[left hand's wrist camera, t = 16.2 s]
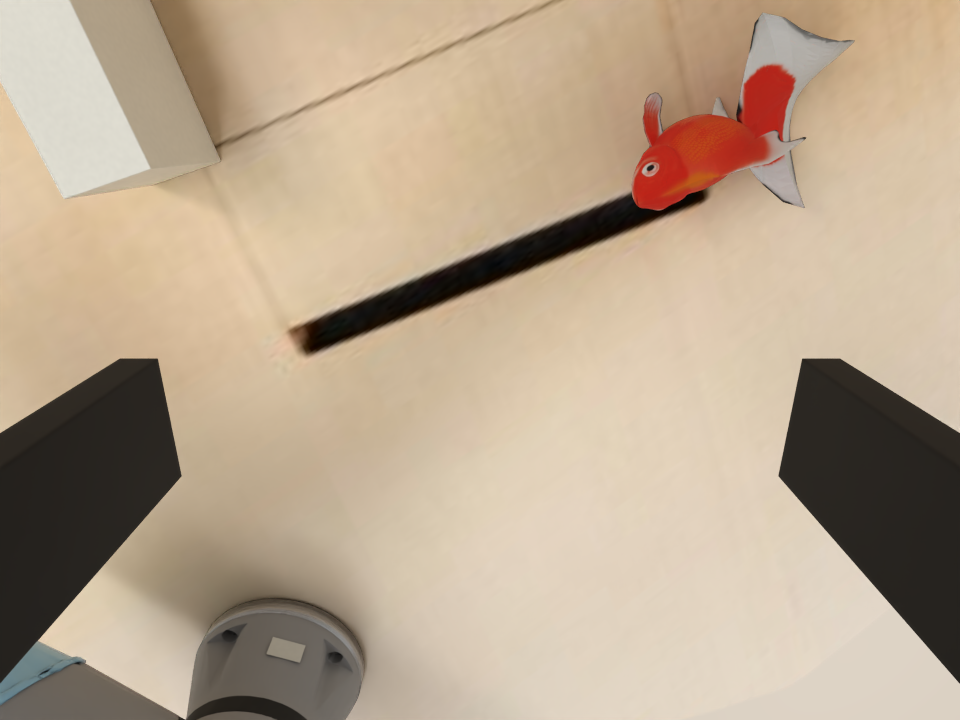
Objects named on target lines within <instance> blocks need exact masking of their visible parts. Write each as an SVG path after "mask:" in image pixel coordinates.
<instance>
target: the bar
mask: <svg viewBox="0 0 960 720" xmlns="http://www.w3.org/2000/svg"><path fill="white" fill-rule="evenodd" d="M0 82H1V84H2V86H3V88H4V89H5V91H6V93H7V95H8V97H9V99H10V101H11V102H12V104H13V106H14V108H15V110H16V112H17V113H18V115H19V117H20V119H21V121H22V123H23V125H24V126H25V128H26V130H27V132H28V134H29V136H30V137H31V139H32V141H33V143H34V145H35V147H36V149H37V150H38V152H39V154H40V156H41V158H42V160H43V162H44V163H45V165H46V167H47V169H48V171H49V173H50V174H51V176H52V178H53V180H54V182H55V184H56V186H57V187H58V189H59V191H60V193H61V195H62V197H63V198H64V199H69V198H75V197H81V196H88V195H94V194H100V193H107V192H113V191H119V190H126V189H132V188H138V187H145V186H151V185H154V184H157V183H160V182H163V181H166V180H169V179H172V178H175V177H178V176H181V175H183V174H186V173H189V172H192V171H195V170H198V169H201V168H204V167H207V166H210V165H213V164H215V163H218V162H221V160H220V158H219V155H218V153H217V151H216V149H215V146H214V144H213V142H212V140H211V137H210V135H209V133H208V131H207V128H206V126H205V124H204V121H203V119H202V117H201V115H200V112H199V110H198V108H197V106H196V103H195V101H194V99H193V97H192V94H191V92H190V90H189V87H188V85H187V83H186V81H185V78H184V76H183V74H182V72H181V69H180V67H179V65H178V63H177V60H176V58H175V56H174V53H173V51H172V49H171V47H170V44H169V42H168V40H167V38H166V35H165V33H164V31H163V29H162V26H161V24H160V22H159V19H158V17H157V15H156V13H155V10H154V8H153V6H152V4H151V1H150V0H0Z"/></svg>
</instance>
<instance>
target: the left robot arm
mask: <svg viewBox="0 0 960 720" xmlns="http://www.w3.org/2000/svg"><path fill="white" fill-rule="evenodd" d="M180 477H181V471H180V466H179V461H178V456H177V451H176V446H175V441H174V437H173V432H172V427H171V422H170V417H169V412H168V407H167V402H166V397H165V392H164V387H163V382H162V378H161V373H160V368H159V363H158V359H119V360H117V361H116V362H114V363H112V364H111V365H109V366H107V367H106V368H104V369H103V370H101V371H99V372H98V373H96V374H95V375H93V376H91V377H90V378H88V379H87V380H85V381H83V382H82V383H80V384H79V385H77V386H75V387H74V388H72V389H71V390H69V391H67V392H66V393H64V394H62V395H61V396H59V397H58V398H56V399H54V400H53V401H51V402H50V403H48V404H46V405H45V406H43V407H42V408H40V409H38V410H37V411H35V412H34V413H32V414H30V415H29V416H27V417H26V418H24V419H22V420H21V421H19V422H18V423H16V424H14V425H13V426H11V427H9V428H8V429H6V430H5V431H3V432H1V433H0V720H185V719H183V718H181V717H179V716H178V715H176V714H175V713H173V712H171V711H169V710H167V709H166V708H164V707H162V706H160V705H158V704H157V703H155V702H153V701H151V700H150V699H148V698H146V697H144V696H142V695H141V694H139V693H137V692H135V691H133V690H132V689H130V688H128V687H126V686H125V685H123V684H121V683H119V682H117V681H116V680H114V679H112V678H110V677H108V676H107V675H105V674H103V673H101V672H99V671H98V670H96V669H94V668H92V667H91V666H89V665H87V664H85V663H86V660H84V659H82V658H81V657H70V656H68V655H66V654H64V653H62V652H60V651H58V650H56V649H53V648H51V647H49V646H47V645H45V644H43V643H41V642H39V641H38V640H39V639H40V637H41V636H42V635H43V634H44V633H45V632H46V631H47V629H48V628H49V627H50V626H51V625H52V624H53V623H54V621H55V620H56V619H57V618H58V617H59V616H60V615H61V613H62V612H63V611H64V610H65V609H66V608H67V607H68V605H69V604H70V603H71V602H72V601H73V600H74V599H75V597H76V596H77V595H78V594H79V593H80V592H81V591H82V589H83V588H84V587H85V586H86V585H87V584H88V583H89V581H90V580H91V579H92V578H93V577H94V576H95V575H96V573H97V572H98V571H99V570H100V569H101V568H102V567H103V565H104V564H105V563H106V562H107V561H108V560H109V559H110V557H111V556H112V555H113V554H114V553H115V552H116V551H117V549H118V548H119V547H120V546H121V545H122V544H123V542H124V541H125V540H126V539H127V538H128V537H129V536H130V534H131V533H132V532H133V531H134V530H135V529H136V528H137V526H138V525H139V524H140V523H141V522H142V521H143V520H144V518H145V517H146V516H147V515H148V514H149V513H150V512H151V510H152V509H153V508H154V507H155V506H156V505H157V504H158V502H159V501H160V500H161V499H162V498H163V497H164V496H165V494H166V493H167V492H168V491H169V490H170V489H171V488H172V486H173V485H174V484H175V483H176V482H177V481H178V480H179V478H180ZM779 477H780V478H781V480H782V481H783V482H784V483H785V484H786V485H787V486H788V488H789V489H790V490H791V491H792V492H793V493H794V494H795V496H796V497H797V498H798V499H799V500H800V501H801V502H802V504H803V505H804V506H805V507H806V508H807V509H808V510H809V512H810V513H811V514H812V515H813V516H814V517H815V518H816V520H817V521H818V522H819V523H820V524H821V525H822V526H823V528H824V529H825V530H826V531H827V532H828V533H829V534H830V536H831V537H832V538H833V539H834V540H835V541H836V542H837V544H838V545H839V546H840V547H841V548H842V549H843V551H844V552H845V553H846V554H847V555H848V556H849V557H850V559H851V560H852V561H853V562H854V563H855V564H856V565H857V567H858V568H859V569H860V570H861V571H862V572H863V573H864V575H865V576H866V577H867V578H868V579H869V580H870V581H871V583H872V584H873V585H874V586H875V587H876V588H877V589H878V591H879V592H880V593H881V594H882V595H883V596H884V597H885V599H886V600H887V601H888V602H889V603H890V604H891V605H892V607H893V608H894V609H895V610H896V611H897V612H898V613H899V615H900V616H901V617H902V618H903V619H904V620H905V621H906V623H907V624H908V625H909V626H910V627H911V628H912V629H913V631H914V632H915V633H916V634H917V635H918V636H919V637H920V639H921V640H922V641H923V642H924V643H925V644H926V645H927V647H928V648H929V649H930V650H931V651H932V652H933V653H934V655H935V656H936V657H937V658H938V659H939V660H940V661H941V663H942V664H943V665H944V666H945V667H946V668H947V669H948V671H949V672H950V673H951V674H952V675H953V676H954V677H955V679H956V680H957V681H958V682H959V683H960V433H959V432H957V431H955V430H954V429H952V428H951V427H949V426H947V425H946V424H944V423H942V422H941V421H939V420H938V419H936V418H934V417H933V416H931V415H930V414H928V413H926V412H925V411H923V410H922V409H920V408H918V407H917V406H915V405H914V404H912V403H910V402H909V401H907V400H906V399H904V398H902V397H901V396H899V395H898V394H896V393H894V392H893V391H891V390H889V389H888V388H886V387H885V386H883V385H881V384H880V383H878V382H877V381H875V380H873V379H872V378H870V377H869V376H867V375H865V374H864V373H862V372H861V371H859V370H857V369H856V368H854V367H853V366H851V365H849V364H848V363H846V362H844V361H843V360H841V359H802V363H801V368H800V373H799V378H798V382H797V387H796V392H795V397H794V402H793V407H792V412H791V417H790V422H789V427H788V432H787V437H786V441H785V446H784V451H783V456H782V461H781V466H780V471H779ZM363 674H364V660H363V655H362V651H361V649H360V646H359V644H358V642H357V641H356V639H355V637H354V636H353V635H352V633H351V632H350V631H349V630H348V629H347V628H346V626H344V625H343V624H342V623H341V622H340V621H339V620H337V619H336V618H335V617H333V616H332V615H330V614H328V613H327V612H325V611H323V610H321V609H319V608H317V607H314V606H312V605H309V604H306V603H302V602H298V601H293V600H286V599H262V600H255V601H251V602H247V603H244V604H241V605H238V606H236V607H234V608H232V609H230V610H228V611H227V612H225V613H224V614H223V615H221V616H220V617H219V618H218V619H217V620H216V621H215V622H214V623H213V624H212V626H211V627H210V629H209V630H208V632H207V634H206V636H205V637H204V639H203V641H202V643H201V645H200V647H199V649H198V651H197V654H196V659H195V663H194V670H193V676H192V683H191V690H190V697H189V704H188V711H187V718H186V720H345V719H346V718H347V716H348V715H349V713H350V711H351V710H352V708H353V706H354V704H355V703H356V700H357V698H358V696H359V693H360V688H361V683H362V679H363Z"/></svg>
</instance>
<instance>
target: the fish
mask: <svg viewBox="0 0 960 720" xmlns="http://www.w3.org/2000/svg"><path fill="white" fill-rule="evenodd" d="M853 42H854V40H846V41H836V40H831V39H827V38H822V37H820V36H817V35H815V34H812V33H810V32H807V31H805V30H802V29H801V28H799V27H798V26H796V25H795V24H793V23H792V22H790V21H789V20H787V19H786V18H784V17H780V16H775V15H771V14H766V13H762V14H761V16H760V17H759V18H758V20H757V21H756V22H755V25H754V31H753V36H752V42H751V47H750V52H749V56H748V60H747V64H746V68H745V72H744V77H743V82H742V87H741V93H740V98H739V103H738V109H737V114H736V115H737V121H735V120H733V119H730V118H729V117H728V115H727V113H726V111H725V109H724V107H723V105H722V102H721V100H720V98H719V97H718V98H716V101H715V105H714V108H713V111H712V115H711V114H704V115H697V116H692V117H689V118H686V119H683V120H681V121H678V122H676V123H675V124H673V125H671V126H670V127H668V128H667V129H666V130H665V131H664V132H663V130H662V125H661V120H660V112H661V106H662V98H661V96H660V95H659V94H658V93H653V94H650V95H649V96H648V97H647V99H646V102H645V105H644V116H643V124H644V130H645V134H646V136H647V139H648V141H649V144H650V147H649V149H648V150H647V151H646V152H645V153H644V154H643V156H642V158H641V160H640V162H639V163H638V165H637V167H636V170H635V173H634V176H633V179H632V196H633V199H634V201H635V203H636V204H637V205H638V206H639V207H640V208H648V209H654V210H662V209H664V208H666V207H668V206H669V205H671V204H673V203H676V202H678V201H680V200H682V199H683V198H684V197H685V196H686V195H687V194H690V193H693V192H697V191H700V190H703V189H705V188H707V187H709V186H711V185H713V184H715V183H717V182H718V181H720V180H721V179H723V178H724V177H725V176H727V175H728V174H731V173H734V172H737V171H740V170H744V169H747V168H750V170H751V171H752V172H753V174H754V175H755V176H756V178H757V179H758V180H759V181H760V182H761V183H762V184H763V185H764V186H765V187H766V188H768V189H769V190H770V191H771V192H772V193H773V194H775V195H776V196H777V197H778V198H779V199H780V200H781V201H783V202H785V203H788V204H792V205H796V206H799V207H803V208H805V207H804V204H803V202H802V199H801V196H800V193H799V190H798V187H797V183H796V178H795V172H794V167H793V162H792V156H791V149H793V148H794V147H795V146H797V145H798V144H799V143H801V142H802V141H803V140H805V139H806V137H803V138H800V139H797V140H793V141H790V121H791V114H792V110H793V107H794V104H795V101H796V99H797V97H798V95H799V94H800V92H801V91H802V90H803V88H804V87H805V86H806V85H807V84H808V83H809V82H810V81H811V80H812V79H813V78H814V77H815V76H816V75H817V74H818V73H819V72H820V71H821V70H822V69H824V68H825V67H826V66H827V65H829V64H830V63H831V62H832V61H834V60H835V59H836V58H837V57H838V56H839V55H840V54H841V53H842V52H844V51H845V50H846V49H847V48H848V47H849V46H850V45H851V44H852V43H853Z"/></svg>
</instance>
